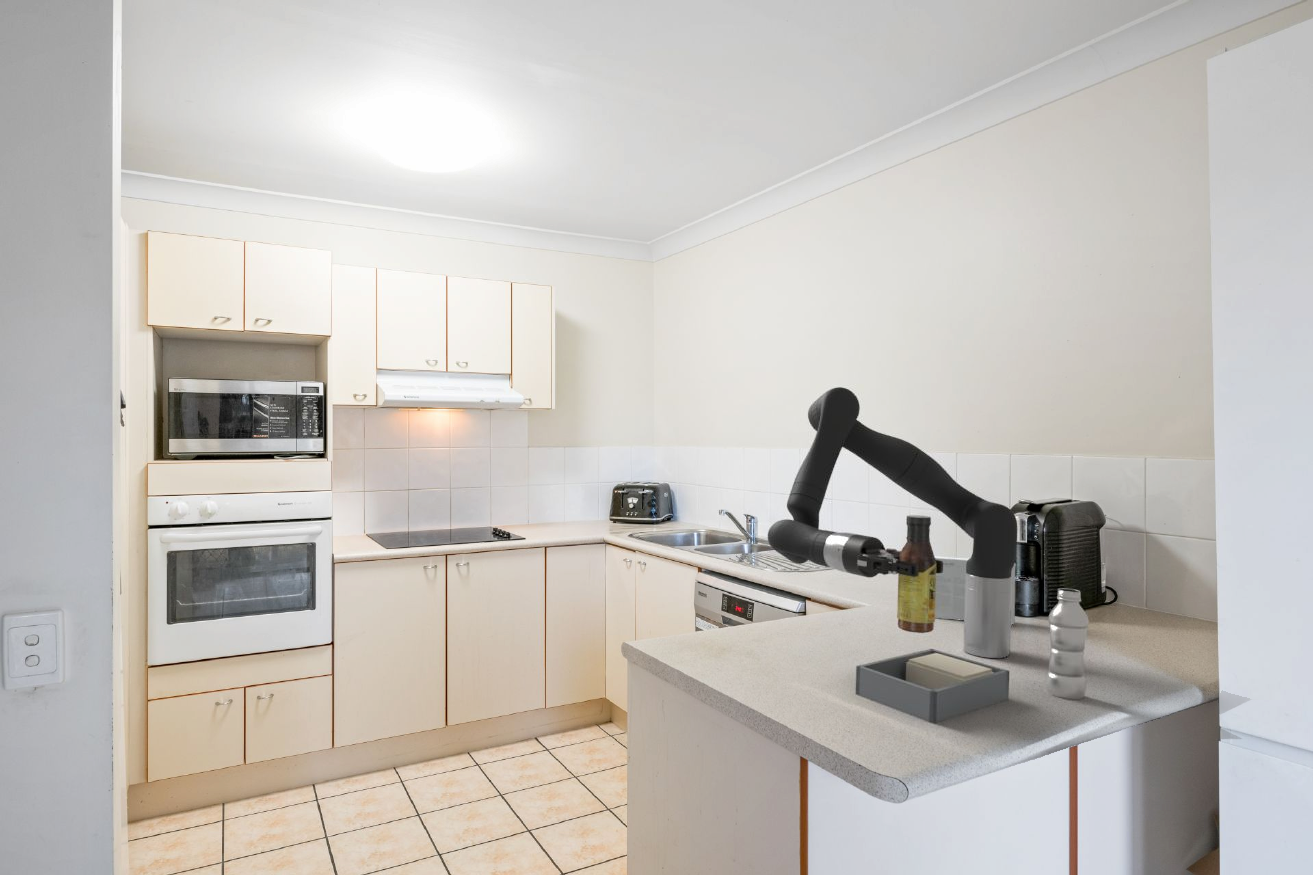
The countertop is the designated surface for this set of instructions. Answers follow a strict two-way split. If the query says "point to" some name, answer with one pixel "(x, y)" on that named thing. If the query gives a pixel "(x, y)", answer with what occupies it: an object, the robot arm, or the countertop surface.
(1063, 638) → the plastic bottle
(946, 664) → the cream rectangular box
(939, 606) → the skincare box
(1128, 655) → the countertop surface
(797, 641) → the countertop surface
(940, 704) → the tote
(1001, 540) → the robot arm
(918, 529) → the sauce bottle
